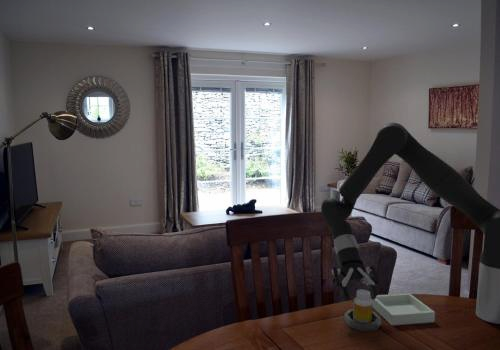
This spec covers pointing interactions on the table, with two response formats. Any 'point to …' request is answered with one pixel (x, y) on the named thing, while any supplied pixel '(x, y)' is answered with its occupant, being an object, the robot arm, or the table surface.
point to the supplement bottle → (362, 307)
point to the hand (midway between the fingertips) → (361, 299)
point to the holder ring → (362, 326)
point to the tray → (402, 309)
